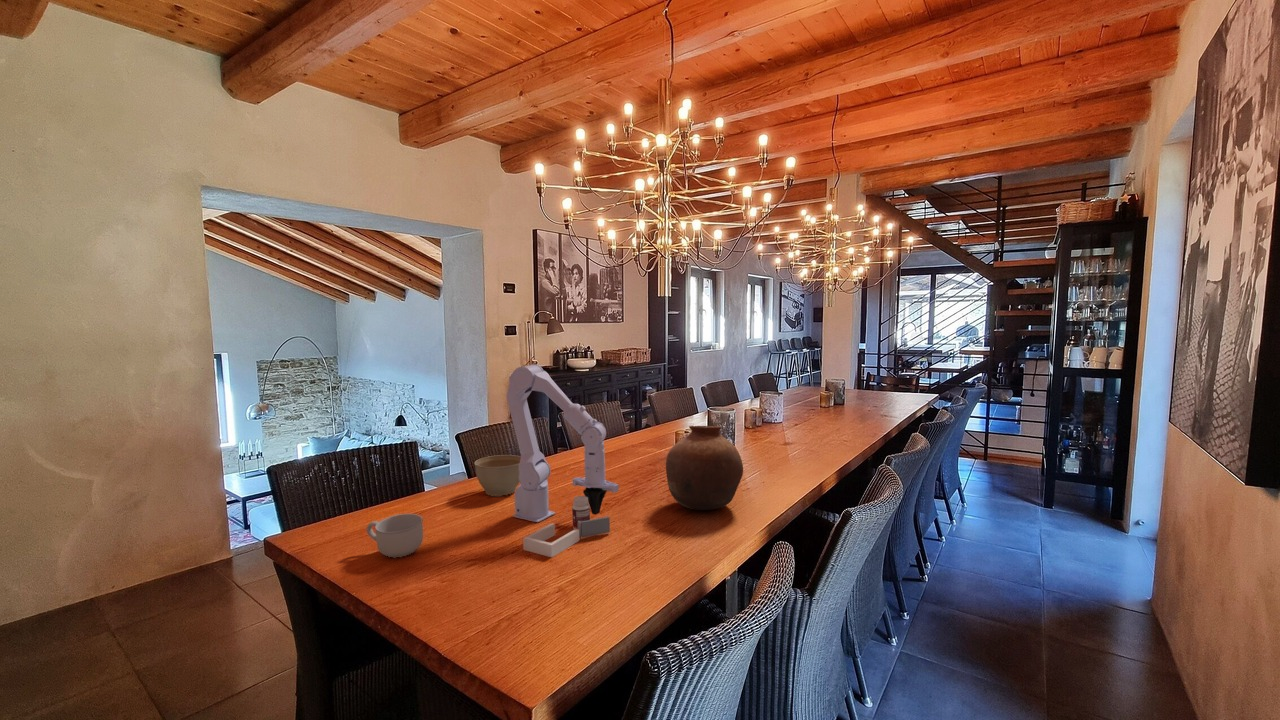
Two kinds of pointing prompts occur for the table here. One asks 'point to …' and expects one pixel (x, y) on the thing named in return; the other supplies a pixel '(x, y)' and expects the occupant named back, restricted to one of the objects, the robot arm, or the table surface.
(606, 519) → the channel cover
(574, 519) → the pill bottle
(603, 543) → the table surface
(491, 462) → the planter bowl
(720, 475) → the pottery
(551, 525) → the channel
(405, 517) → the teacup
